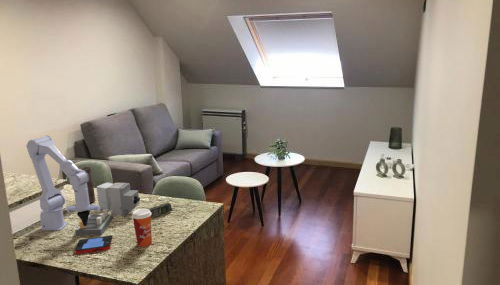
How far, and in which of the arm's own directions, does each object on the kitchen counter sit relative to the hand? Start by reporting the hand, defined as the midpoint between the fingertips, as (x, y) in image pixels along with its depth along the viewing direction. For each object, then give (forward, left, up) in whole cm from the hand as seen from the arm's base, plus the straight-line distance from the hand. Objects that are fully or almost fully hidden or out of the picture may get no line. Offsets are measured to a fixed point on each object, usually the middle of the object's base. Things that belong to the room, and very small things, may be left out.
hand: (85, 225), depth 186 cm
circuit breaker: (+13, +22, -4) cm, 25 cm away
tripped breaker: (-2, 0, -1) cm, 2 cm away
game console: (+8, -12, -5) cm, 15 cm away
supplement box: (+1, +30, -4) cm, 30 cm away
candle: (-13, +38, -4) cm, 40 cm away
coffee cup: (+30, -11, -4) cm, 32 cm away
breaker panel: (+2, +7, -4) cm, 8 cm away
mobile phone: (+30, +19, -4) cm, 36 cm away
